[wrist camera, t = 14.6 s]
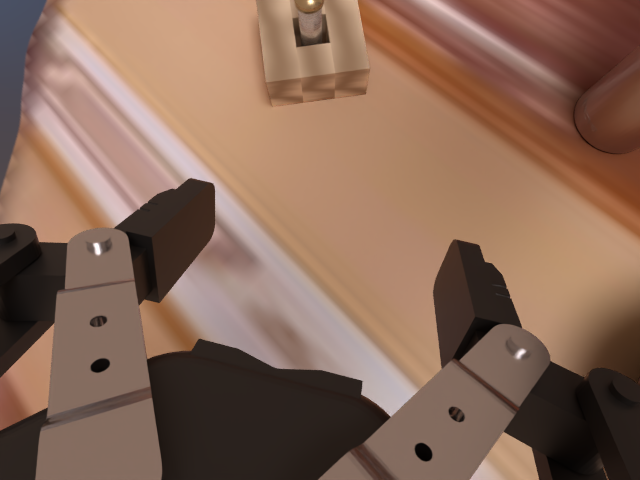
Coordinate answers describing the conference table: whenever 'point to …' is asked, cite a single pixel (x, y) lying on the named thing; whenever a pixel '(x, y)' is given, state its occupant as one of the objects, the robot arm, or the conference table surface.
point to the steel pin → (310, 21)
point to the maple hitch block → (312, 53)
